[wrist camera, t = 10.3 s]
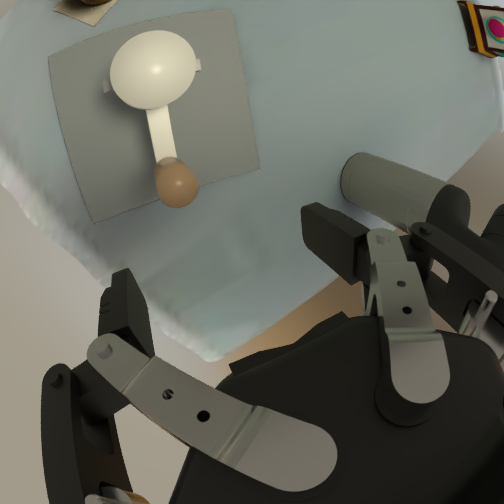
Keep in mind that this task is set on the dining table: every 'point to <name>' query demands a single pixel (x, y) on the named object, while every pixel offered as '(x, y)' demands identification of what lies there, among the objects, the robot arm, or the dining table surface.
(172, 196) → the cream maraca
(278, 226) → the dining table surface
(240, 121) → the board
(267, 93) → the dining table surface
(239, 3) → the dining table surface
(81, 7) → the condiment
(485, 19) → the decorative lantern
